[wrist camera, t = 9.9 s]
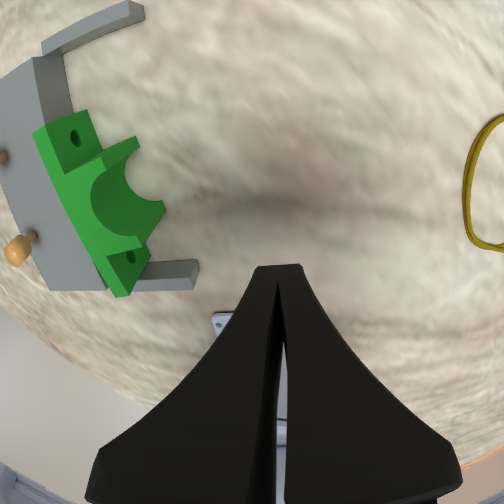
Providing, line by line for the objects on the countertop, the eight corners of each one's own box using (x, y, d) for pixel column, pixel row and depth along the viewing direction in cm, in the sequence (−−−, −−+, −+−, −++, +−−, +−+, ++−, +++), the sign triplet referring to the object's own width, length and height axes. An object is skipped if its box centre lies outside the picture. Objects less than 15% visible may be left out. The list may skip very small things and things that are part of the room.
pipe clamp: (184, 246, 20) (165, 290, 17) (139, 256, 21) (115, 298, 17) (120, 90, 14) (77, 102, 11) (75, 115, 15) (30, 134, 11)
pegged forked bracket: (199, 271, 21) (180, 331, 16) (71, 277, 23) (40, 323, 18) (142, 5, 11) (89, -14, 7) (5, 76, 13) (-52, 93, 8)
